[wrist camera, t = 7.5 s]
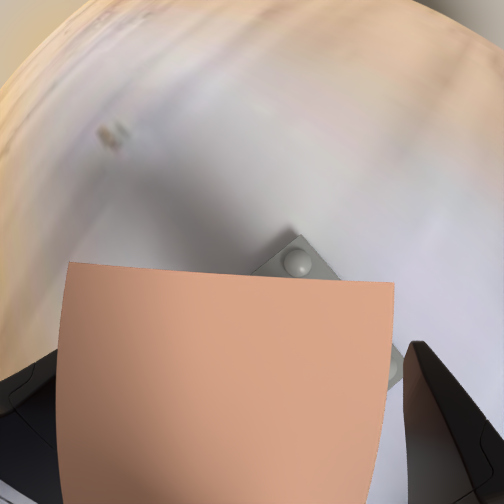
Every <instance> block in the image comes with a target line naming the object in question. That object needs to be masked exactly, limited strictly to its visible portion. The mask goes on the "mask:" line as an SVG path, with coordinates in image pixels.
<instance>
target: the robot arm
mask: <svg viewBox="0 0 504 504" xmlns="http://www.w3.org/2000/svg"><path fill="white" fill-rule="evenodd" d="M57 353H58V349H56V350H54V351H53V352H51V353H49V354H48V355H46V356H44V357H43V358H41V359H39V360H38V361H36V362H34V363H33V364H31V365H30V366H28V367H26V368H24V369H23V370H21V371H19V372H18V373H16V374H14V375H12V376H10V377H8V378H6V379H4V380H2V381H0V504H63V497H62V490H61V482H60V473H59V463H58V451H57V434H56V371H57ZM403 413H404V425H405V437H406V451H407V471H408V504H504V440H503V439H502V437H501V436H500V435H499V433H498V432H497V431H496V430H495V428H494V427H493V426H492V424H491V423H490V422H489V420H488V419H487V420H486V417H485V415H484V414H483V413H482V411H481V410H480V409H479V407H478V406H477V405H476V404H475V402H474V401H473V400H472V398H471V397H470V396H469V395H468V393H467V392H466V391H465V390H464V388H463V387H462V386H461V385H460V383H459V382H458V381H457V380H456V378H455V377H454V376H453V375H452V373H451V372H450V371H449V370H448V369H447V367H446V366H445V365H444V364H443V363H442V361H441V360H440V359H439V358H438V357H437V355H436V354H435V353H434V352H433V351H432V349H431V348H430V347H429V346H428V345H427V344H426V343H425V342H424V341H412V342H411V343H410V344H409V347H408V350H407V352H406V355H405V358H404V361H403Z"/></svg>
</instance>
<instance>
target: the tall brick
mask: <svg viewBox="0 0 504 504" xmlns="http://www.w3.org/2000/svg"><path fill="white" fill-rule="evenodd" d="M393 314H394V283H391V282H364V281H341V280H319V279H299V278H281V277H263V276H246V275H230V274H215V273H200V272H186V271H172V270H159V269H146V268H133V267H121V266H109V265H98V264H87V263H76V262H69V265H68V271H67V277H66V283H65V289H64V296H63V303H62V311H61V320H60V329H59V340H58V353H57V371H56V434H57V451H58V463H59V473H60V482H61V490H62V497H63V504H366V500H367V496H368V492H369V488H370V484H371V480H372V475H373V471H374V466H375V461H376V457H377V452H378V446H379V441H380V435H381V430H382V424H383V417H384V411H385V404H386V396H387V388H388V379H389V370H390V360H391V348H392V333H393Z"/></svg>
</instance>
